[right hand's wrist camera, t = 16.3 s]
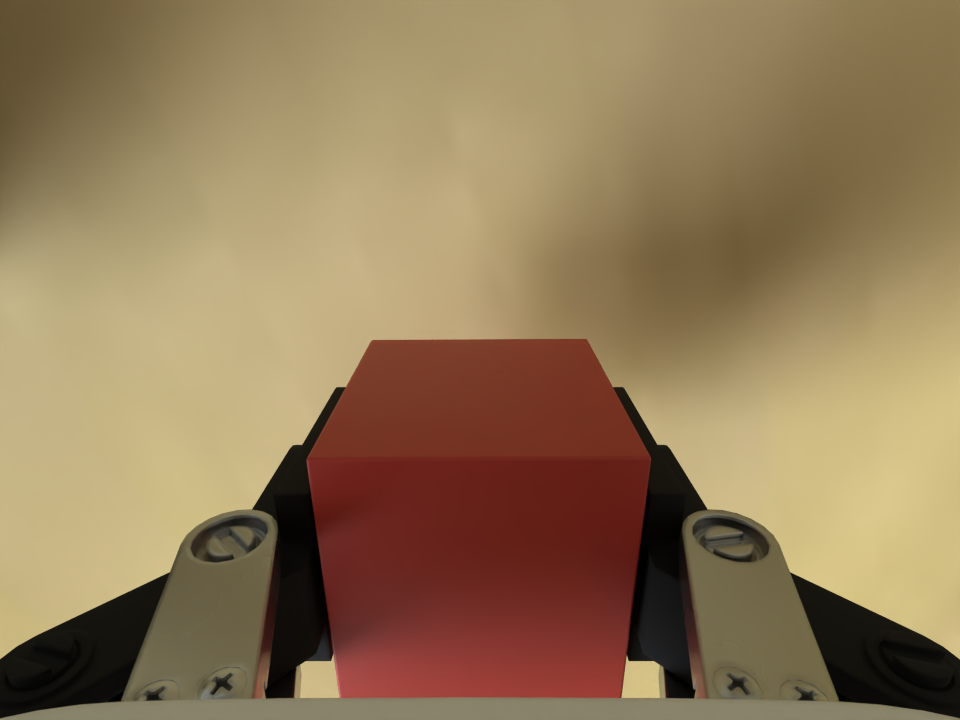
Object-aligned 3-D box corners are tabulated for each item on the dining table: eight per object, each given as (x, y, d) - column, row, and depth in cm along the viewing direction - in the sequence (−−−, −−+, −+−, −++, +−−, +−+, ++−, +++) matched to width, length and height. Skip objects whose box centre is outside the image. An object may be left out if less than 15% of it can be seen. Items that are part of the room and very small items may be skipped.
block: (371, 339, 11) (304, 459, 7) (587, 338, 11) (652, 457, 7) (387, 533, 13) (341, 724, 9) (573, 532, 13) (619, 722, 9)
